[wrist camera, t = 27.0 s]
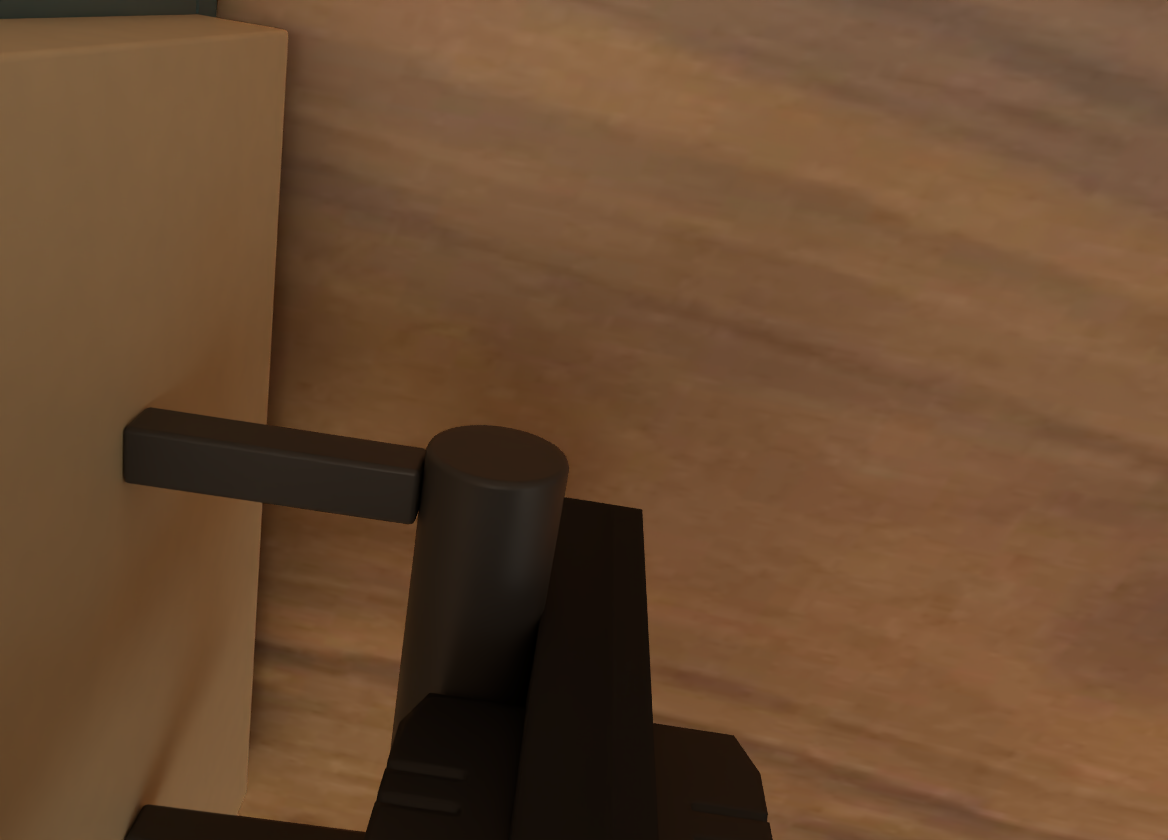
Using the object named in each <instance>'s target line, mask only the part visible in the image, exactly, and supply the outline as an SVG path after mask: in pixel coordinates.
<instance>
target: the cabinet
mask: <svg viewBox="0 0 1168 840" xmlns="http://www.w3.org/2000/svg"><path fill="white" fill-rule="evenodd" d="M216 10H217V0H0V19H22V18H65V17H107V16H150V15H192V14H199V15H204V16H210V17H216Z"/></svg>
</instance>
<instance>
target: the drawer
mask: <svg viewBox="0 0 1168 840" xmlns="http://www.w3.org/2000/svg"><path fill="white" fill-rule="evenodd" d="M287 50H288V32H287V31H286V30H284V29H279V28H273V27H268V26H262V25H256V24H250V23H245V22H239V21H233V20H227V19H222V18H216V17H210V16H204V15H199V14H192V15H150V16H107V17H65V18H22V19H0V840H364V837H365V833H366V832H361V831H353V830H345V829H337V828H330V827H322V826H314V825H306V824H299V823H291V822H283V821H275V820H267V819H260V818H252V817H244V816H237V814H238V811H239V809H240V807H241V804H242V802H243V800H244V797H245V795H246V791H247V773H248V755H249V737H250V719H251V701H252V683H253V665H254V647H255V629H256V611H257V593H258V575H259V556H260V538H261V520H262V503H267V504H274V505H280V506H287V507H294V508H301V509H308V510H315V511H321V512H328V513H335V514H342V515H349V516H356V517H362V518H369V519H376V520H383V521H390V522H396V523H403V524H412V523H414V521H415V519H416V517H417V514H418V522H417V530H416V539H415V547H414V555H413V564H412V572H411V581H410V589H409V598H408V606H407V615H406V623H405V632H404V640H403V649H402V657H401V665H400V674H399V682H398V691H397V699H396V708H395V716H394V725H393V733H392V742H391V748H392V745H393V742H394V738H395V735H396V732H397V728H398V725H399V722H400V721H401V720H402V719H403V718H404V717H405V716H406V715H407V714H408V713H409V712H410V711H411V710H412V709H413V708H414V707H415V706H416V705H417V704H418V703H419V702H421V701H422V700H423V699H424V698H425V697H426V696H427V695H428V694H429V693H436V694H443V695H449V696H456V697H462V698H469V699H475V700H482V701H488V702H495V703H501V704H508V705H514V706H521V707H525V703H526V697H527V691H528V686H529V680H530V674H531V668H532V662H533V657H534V651H535V645H536V639H537V633H538V628H539V622H540V616H541V615H542V614H543V611H544V609H545V604H546V598H547V592H548V587H549V581H550V575H551V570H552V564H553V558H554V552H555V547H556V541H557V535H558V530H559V524H560V518H561V513H562V507H563V501H564V495H565V490H566V484H567V478H568V473H569V465H568V461H567V458H566V456H565V455H564V453H563V452H562V451H561V450H560V449H559V448H558V447H557V446H555V445H554V444H552V443H551V442H549V441H547V440H545V439H543V438H541V437H539V436H536V435H533V434H531V433H528V432H524V431H521V430H516V429H512V428H506V427H499V426H489V425H470V426H461V427H455V428H451V429H448V430H445V431H442V432H440V433H438V434H437V435H435V436H434V437H433V438H432V439H431V441H430V442H429V444H428V446H427V448H426V450H425V449H423V448H417V447H411V446H404V445H397V444H391V443H384V442H377V441H371V440H364V439H358V438H351V437H344V436H338V435H331V434H324V433H318V432H311V431H305V430H298V429H291V428H285V427H278V426H272V425H267V412H268V394H269V376H270V358H271V339H272V321H273V303H274V285H275V267H276V249H277V231H278V213H279V195H280V177H281V159H282V141H283V122H284V104H285V86H286V68H287ZM418 511H419V513H418ZM390 751H391V750H390Z"/></svg>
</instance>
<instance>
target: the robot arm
mask: <svg viewBox="0 0 1168 840" xmlns="http://www.w3.org/2000/svg"><path fill="white" fill-rule="evenodd" d="M767 816H768V812H767V807H766V802H765V796H764V791H763V786H762V780H761V775H760V772H759V771H758V770H757V768H756V767H755V765H754V764H753V762H752V761H751V759H750V758H749V757H748V755H747V754H746V752H745V751H744V749H743V748H742V747H741V745H740V744H739V742H738V741H737V739H736V738H735V736H734V735H727V734H720V733H714V732H707V731H701V730H694V729H688V728H681V727H675V726H668V725H662V724H655V723H653V714H652V694H651V674H650V654H649V634H648V614H647V594H646V574H645V554H644V534H643V514H642V509H636V508H630V507H624V506H617V505H611V504H605V503H599V502H592V501H586V500H579V499H573V498H567V497H564V501H563V507H562V513H561V518H560V524H559V530H558V535H557V541H556V547H555V552H554V558H553V564H552V570H551V575H550V581H549V587H548V592H547V598H546V604H545V609H544V611H543V614H542V615H541V616H540V622H539V628H538V633H537V639H536V645H535V651H534V657H533V662H532V668H531V674H530V680H529V686H528V691H527V697H526V703H525V707H521V706H514V705H508V704H501V703H495V702H488V701H482V700H475V699H469V698H462V697H456V696H449V695H443V694H436V693H429V694H428V695H427V696H426V697H425V698H424V699H423V700H422V701H421V702H419V703H418V704H417V705H416V706H415V707H414V708H413V709H412V710H411V711H410V712H409V713H408V714H407V715H406V716H405V717H404V718H403V719H402V720H401V721H400V722H399V725H398V728H397V732H396V735H395V738H394V742H393V745H392V748H391V751H390V755H389V758H388V762H387V767H386V769H385V771H384V774H383V778H382V781H381V784H380V787H379V791H378V795H377V800H376V802H375V804H374V807H373V810H372V814H371V817H370V820H369V824H368V827H367V830H366V833H365V837H364V840H773V839H772V834H771V829H770V823H769V822H767Z"/></svg>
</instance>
